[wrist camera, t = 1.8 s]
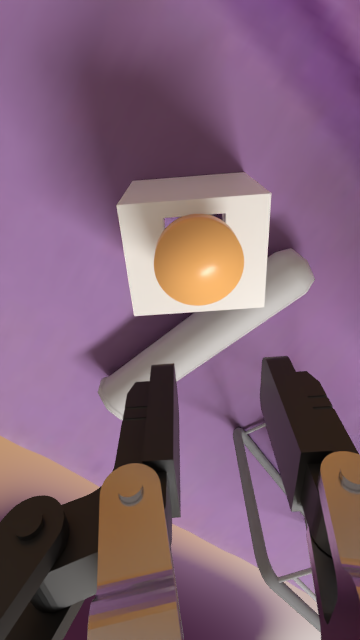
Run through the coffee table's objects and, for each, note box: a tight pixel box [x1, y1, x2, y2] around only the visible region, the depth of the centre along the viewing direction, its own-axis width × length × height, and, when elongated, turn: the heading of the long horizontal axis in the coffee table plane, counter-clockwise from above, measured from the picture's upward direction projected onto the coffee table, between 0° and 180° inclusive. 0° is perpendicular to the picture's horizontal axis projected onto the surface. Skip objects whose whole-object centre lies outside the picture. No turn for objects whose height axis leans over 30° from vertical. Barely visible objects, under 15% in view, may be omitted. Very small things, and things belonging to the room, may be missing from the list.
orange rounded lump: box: [154, 214, 244, 306], centre depth 21 cm, size 5×5×4 cm
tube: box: [98, 248, 315, 420], centre depth 35 cm, size 5×5×25 cm
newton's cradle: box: [233, 423, 321, 632], centre depth 42 cm, size 30×10×18 cm, turn 33°
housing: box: [117, 172, 271, 316], centre depth 27 cm, size 10×8×10 cm
